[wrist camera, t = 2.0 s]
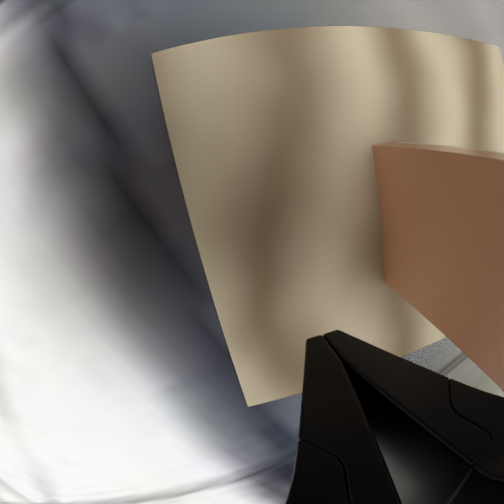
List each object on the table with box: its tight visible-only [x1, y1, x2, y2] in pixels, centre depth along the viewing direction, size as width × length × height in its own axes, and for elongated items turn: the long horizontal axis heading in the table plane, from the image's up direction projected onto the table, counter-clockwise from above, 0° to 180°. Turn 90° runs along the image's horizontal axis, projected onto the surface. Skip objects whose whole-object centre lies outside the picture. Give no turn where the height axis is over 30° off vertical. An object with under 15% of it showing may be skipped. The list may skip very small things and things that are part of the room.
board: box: [151, 26, 504, 407], centre depth 16 cm, size 22×20×1 cm
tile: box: [372, 142, 504, 391], centre depth 11 cm, size 2×8×10 cm, turn 12°
